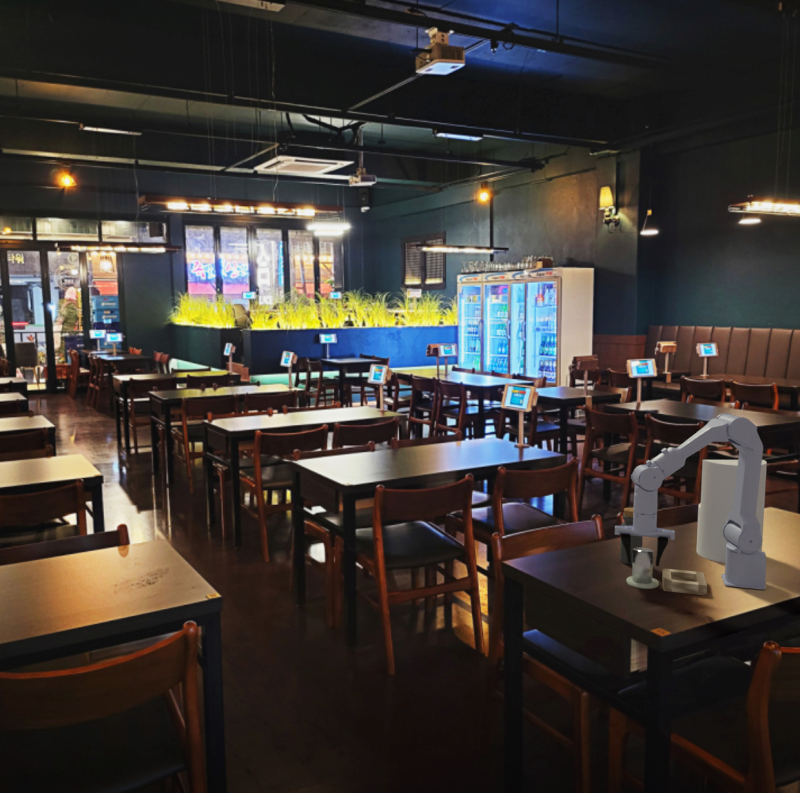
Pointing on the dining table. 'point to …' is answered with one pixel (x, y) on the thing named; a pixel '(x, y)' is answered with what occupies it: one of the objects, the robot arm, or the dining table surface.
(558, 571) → the dining table surface
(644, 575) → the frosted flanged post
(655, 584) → the coaster
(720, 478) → the cylinder
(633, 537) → the bottle
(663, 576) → the collar
